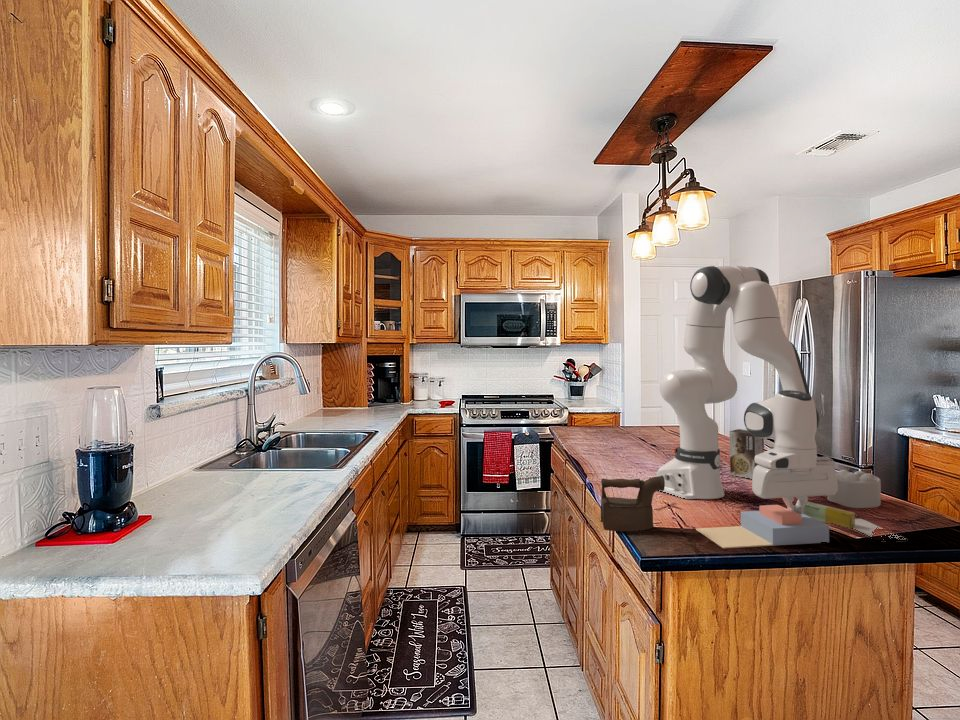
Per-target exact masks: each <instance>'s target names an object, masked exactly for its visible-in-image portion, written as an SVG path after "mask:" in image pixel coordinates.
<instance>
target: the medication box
mask: <svg viewBox="0 0 960 720" xmlns="http://www.w3.org/2000/svg"><path fill="white" fill-rule="evenodd" d="M803 514H805V515H807V516H809V517H811V518H814V519H816V520H818V521H820V522H823V523H826V522H827V524H830V523H833V524H832V525H834V524H837V525H836V526H838V525H841V526H840V527H842V526H845V527H844V528H846V527H848V528H847V529H850V528H852V527H854V526H855V518H856V512H854V511H850V510H845V509H841V508H837V507H834V506H833V507H832V506H829V505H826V504H825V505H824V504H820V503H816V502H811V501H809V500H808V501H807V503H806V505H805V506H804V507H803Z"/></svg>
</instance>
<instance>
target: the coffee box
mask: <svg viewBox="0 0 960 720" xmlns="http://www.w3.org/2000/svg"><path fill="white" fill-rule="evenodd" d="M764 439H765V438H758V437H754V436H753V435H751V434H750V433H749V432H748V430H747V429H740V428H737V429H733V430H729V466H730V468H729V470H730V474H731V475H735V476H740V477H739V478H741V477H745V478H744V479H746V478H750V479H749V480H751V479H753V471H754V468H755V467H756V466H757V465H759V464H757V463H755V460H754V458H755V456H756V455H758V454H760V453H763V452H765V451H764V449H765V447H764V446H765V445H764ZM735 476H734V477H735Z"/></svg>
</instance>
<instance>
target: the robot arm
mask: <svg viewBox="0 0 960 720" xmlns="http://www.w3.org/2000/svg"><path fill="white" fill-rule="evenodd" d="M689 288H690V292H691V293H690V294H691V298H690V301H689V304H688V305H689V306H688V309H687V314H686V320H685V329H684V337H683V349H684V351H685V353H687V354H688V355H689V356H690V357H692V359H693V362H694V368H693V369H678V370H675V371H672V372H669V373H666V374H664V376H663V377H662V378H661V381H660V385H659V392H660V394H661V396H662V398H663V400H664V401H665V402H666V403H668V404H669V405H670V406H671V408H672V409H673V410H674V412H675V415H676V417H677V420H678V426H679V427H678V428H679V446H678V447H676V448H675V449H673V450H672V452H671V453H672V454H675V455H674V458H672V459H670V460H669V461H668V462H666V463H664V464H663V465H661V466H660V467H659V468H658V470H657V472H656V476H655V477H657V476H663V477H664V480H665V487H664V491H663V492H666V493H665V494H667V493H669V494H668V495H670V494H672V495H671V496H673V495H675V496H674V497H677V496H678V497H677V498H680V497H681V499H683V498H685V499H684V500H696V499H697V500H698V499H699V500H714V499H720V498H723V497H725V495H726V494H725V491H724V489H723V484H722V480H721V479H722V478H721V471H720V470H721V469H720V468H721V449H720V448H719V425H718V423H717V422H716V421H715V420H714V419H713V418H712V417H709V415H708V413H707V410H706V404H707V405H708V404H719V403H722V402H726V401H728V400H731V399H733V398H734V397H735V395H736V394H737V391H738V382H737V378H736V376H735V375H734V373H732V372H731V371H730V370H729V368H728V366H727V364H726V361H725V356H724V344H725V343H724V339H725V329H726V319H727V312H728V310H729V309H730V308H731V311H732V319H733V320H732V322H733V331H734V337H735V340H736V343H737V345H738V346H739V347H740V349H741V350H743V351H744V352H745V353H747V354H749V355H751V356H752V357H756V358H759V359H761V360H764V361H765V362H768V363H769V364H770V365H772V366H773V367H774V368H775V370H776V371H777V375H778V377H779V380H780V384H781V389H782V390H780V391H778V392H776V393H775V395H774V396H772V397H770V398H768V399H765V400H760V401H757V402H751V403H750V404H749V405H748V406H747V408H745V411H744V414H743V424H744V427H745V430H748V432H749V433H750V434H751V435H753V436H754V437H758V438H764V439H773V442H774V444H773V448H770V449H769V450H766V451H764V452H763V453H760V454H758V455H756V456H755V458H754V460H755V463H757V464H759V465H757V466H756V467H755V468H754V471H753V479H752V480H751V489H752V492H753V493H754V495H755V496H756V497H758V498H761V499H781V498H782V501H783V502H784V504H785V506H786V507H787V509H789V510H791V511H793V512H796V513H798V514H803V507H804V506H805V505H806V503H807V501H808V502H809V497H820V496H827V495H835V494H836V493H837V491H838V483H837V476H836V473H837V472H836V463H835V461H834V460H833V458H831V457H829V456H826V455H825V456H818V450H817V449H818V446H817V443H816V433H817V431H818V428H819V426H820V423H821V421H820V420H821V419H820V418H821V417H820V413H819V411H818V409H817V407H816V403H815V401H814V399H813V396H812V395H811V393H810V388H809V386H808V383H807V379H806V376H805V373H804V368H803V364H802V362H801V358H800V356H799V352H798V349H797V348H796V346H795V344H793V342H791V341H790V340H789V339H788V337H787V335H786V334H785V331H784V328H783V324H782V322H781V314H780V308H779V305H778V300H777V298H776V294H775V292H774V290H773V287H772V286H771V285H770V279H769V276H768V275H767V273H766V272H765V271H764V270H762V269H759V268H757V267H753V266H748V267H746V266H741V265H721V266H720V265H719V266H715V265H714V266H713V265H710V266H705V267H701V268H699V269H697V270H696V271H695V272H694V273H693V275H692V277H691V280H690V286H689ZM658 492H660V490H659V491H658ZM663 492H662V493H663ZM795 498H796V499H797V501H796V503H795V505H794V504H793V502H794V501H795Z"/></svg>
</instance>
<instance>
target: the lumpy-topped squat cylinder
mask: <svg viewBox="0 0 960 720" xmlns="http://www.w3.org/2000/svg"><path fill="white" fill-rule="evenodd" d="M836 476H837V483H838V491H837V493H836V494H835V495H826V496H827V500H828V501H829V502H833V503H836V504H838V505H840V506H843V507H846V508H847V507H848V508H853V509H867V508H871V509H872V508H878V507H880V506H881V505H882V503H881V502H882V500H881V499H882V496H881V495H882V494H881V493H882V490H881V489H882V487H881V486H882V483H881V482H882V481H881V478H879V477H878V476H876V475H874V474H872V473H870V472H869V473H867V472H864V471H863V470H857V471H854V472H850V471H849V470H847V469H840V470H839V471H838V472H836Z"/></svg>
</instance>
